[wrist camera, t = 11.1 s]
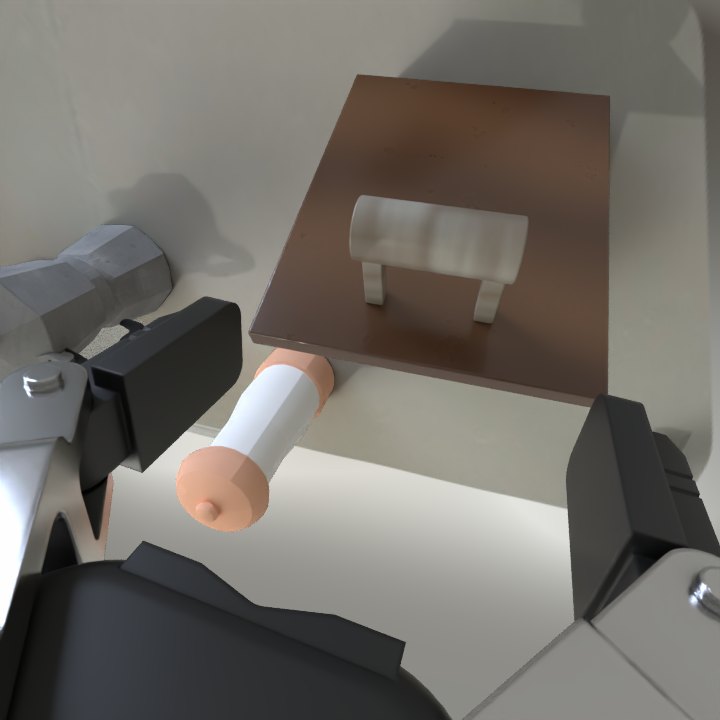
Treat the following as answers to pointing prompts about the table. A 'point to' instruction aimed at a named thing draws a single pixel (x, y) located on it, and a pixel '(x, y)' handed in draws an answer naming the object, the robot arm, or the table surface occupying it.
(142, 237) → the coffeepot
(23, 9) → the table surface
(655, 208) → the table surface
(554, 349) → the lid
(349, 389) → the table surface
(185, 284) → the table surface
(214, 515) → the pepper shaker
